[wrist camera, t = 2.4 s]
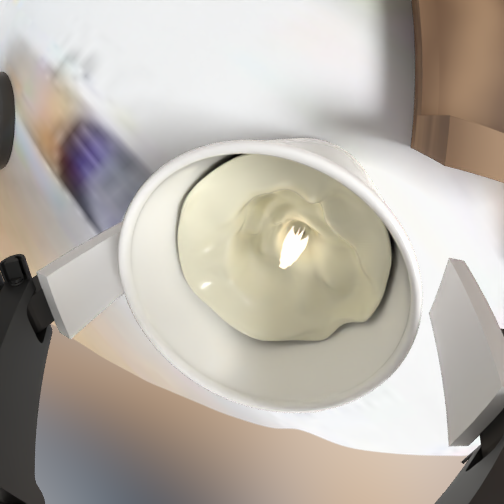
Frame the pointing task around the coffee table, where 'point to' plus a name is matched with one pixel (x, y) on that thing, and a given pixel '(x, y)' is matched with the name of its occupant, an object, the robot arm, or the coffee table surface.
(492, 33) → the wooden tray
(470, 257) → the coffee table surface
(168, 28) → the coffee table surface
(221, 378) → the candle holder
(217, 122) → the coffee table surface
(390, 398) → the coffee table surface
